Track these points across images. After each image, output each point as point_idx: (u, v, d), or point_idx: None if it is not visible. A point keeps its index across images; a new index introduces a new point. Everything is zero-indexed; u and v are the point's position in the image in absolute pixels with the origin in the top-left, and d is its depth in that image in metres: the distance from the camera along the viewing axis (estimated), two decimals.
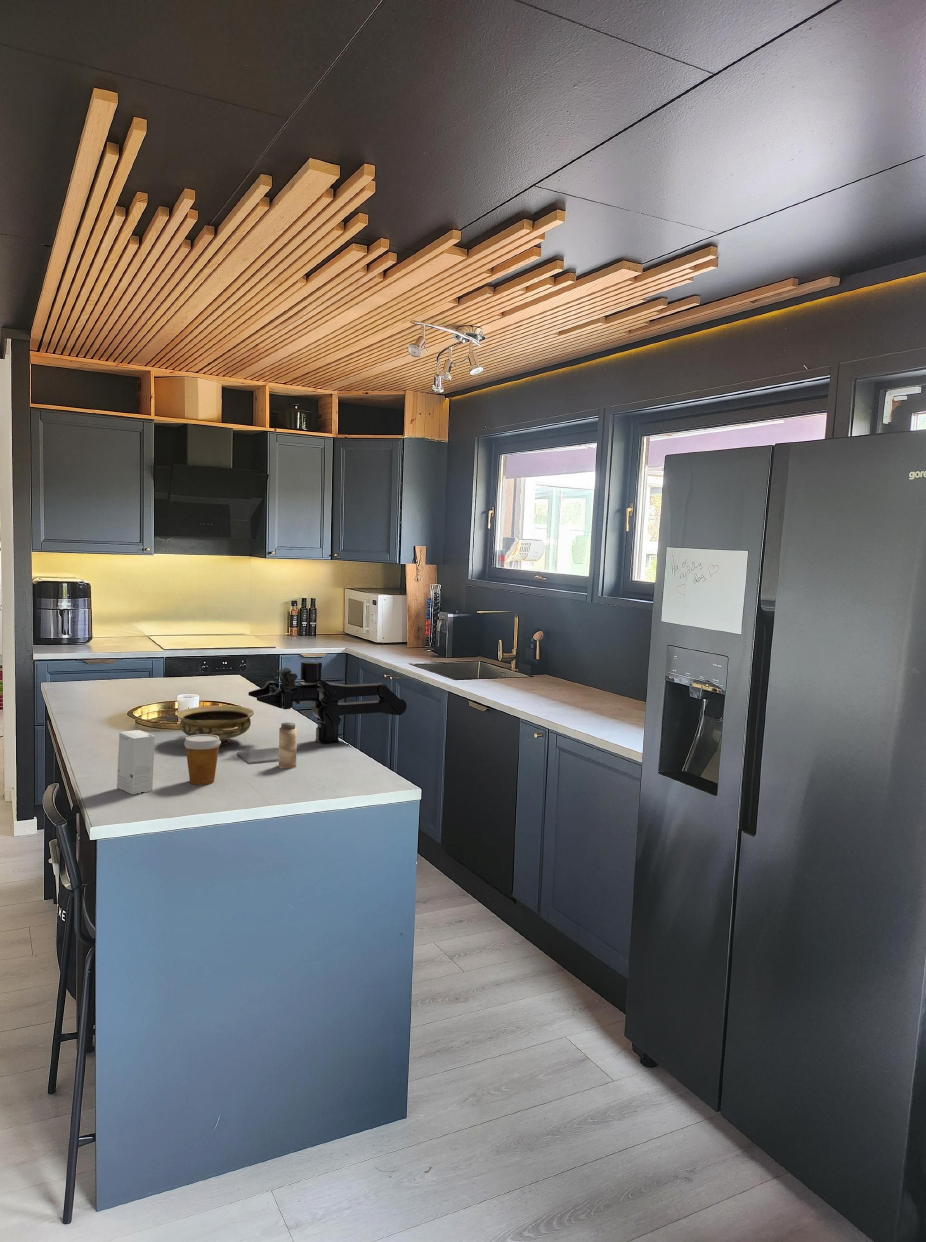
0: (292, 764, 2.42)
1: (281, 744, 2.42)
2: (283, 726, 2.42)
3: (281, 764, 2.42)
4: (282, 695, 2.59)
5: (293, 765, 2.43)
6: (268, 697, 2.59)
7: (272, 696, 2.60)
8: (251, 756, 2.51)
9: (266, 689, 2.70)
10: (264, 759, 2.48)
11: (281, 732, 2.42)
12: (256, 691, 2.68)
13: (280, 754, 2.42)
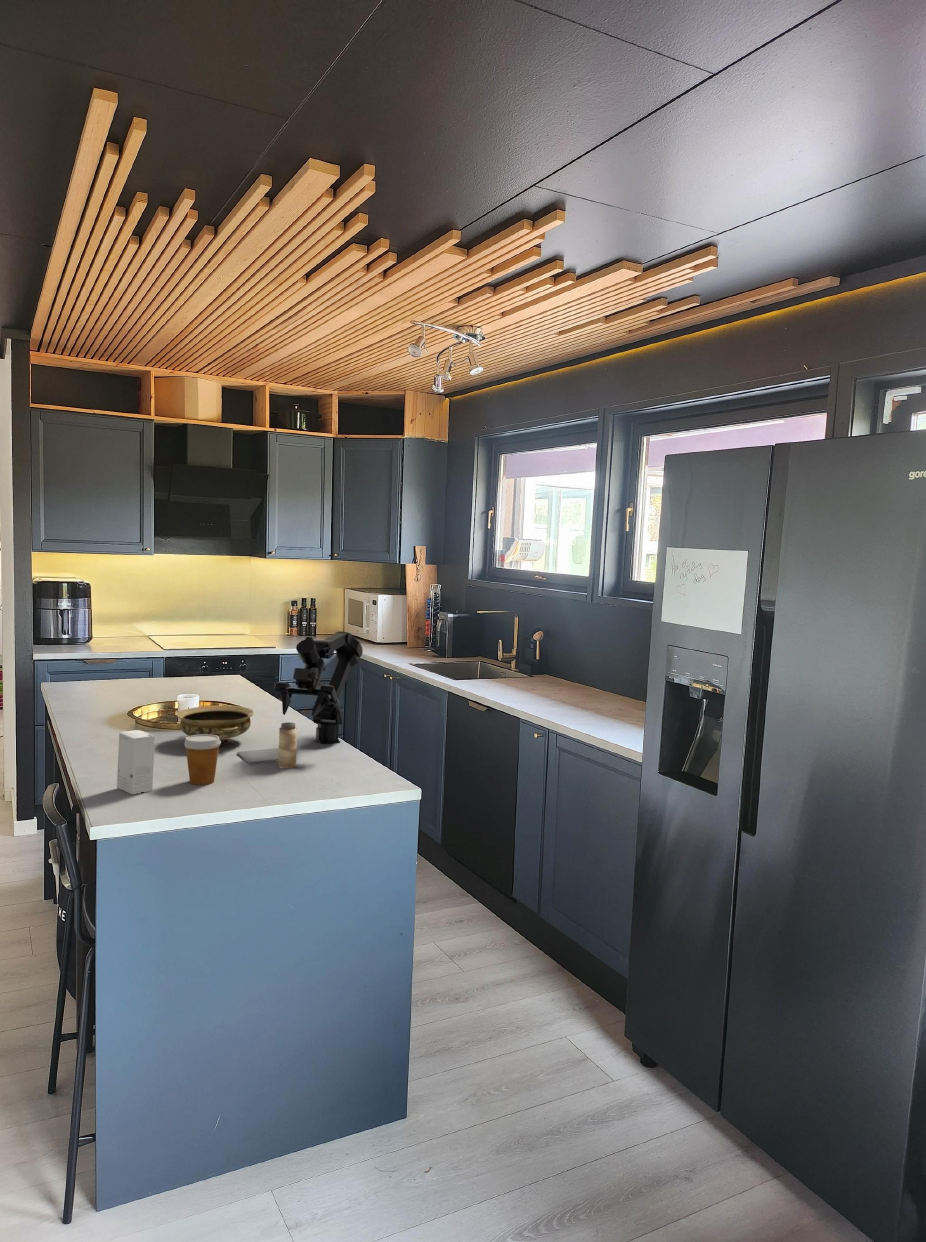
0: (292, 764, 2.42)
1: (281, 744, 2.42)
2: (283, 726, 2.42)
3: (281, 764, 2.42)
4: (328, 695, 2.53)
5: (293, 765, 2.43)
6: (318, 706, 2.52)
7: (320, 702, 2.52)
8: (251, 756, 2.51)
9: (287, 695, 2.55)
10: (264, 759, 2.48)
11: (281, 732, 2.42)
12: (285, 705, 2.53)
13: (280, 754, 2.42)
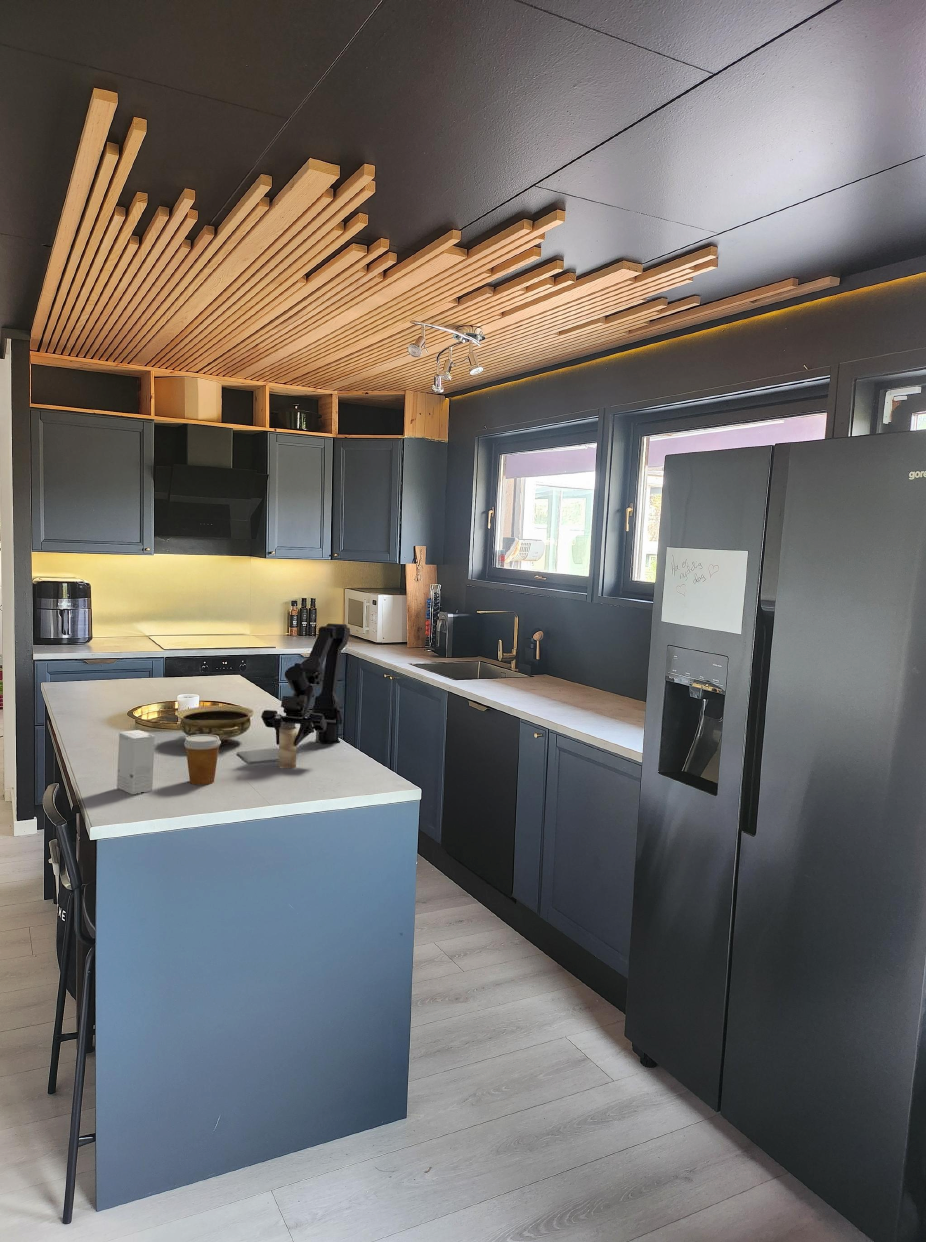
0: (292, 764, 2.42)
1: (281, 744, 2.42)
2: (283, 726, 2.42)
3: (281, 764, 2.42)
4: (311, 723, 2.45)
5: (293, 765, 2.43)
6: (301, 735, 2.44)
7: (302, 731, 2.44)
8: (251, 756, 2.51)
9: (280, 725, 2.46)
10: (264, 759, 2.48)
11: (281, 731, 2.42)
12: None
13: (280, 754, 2.42)
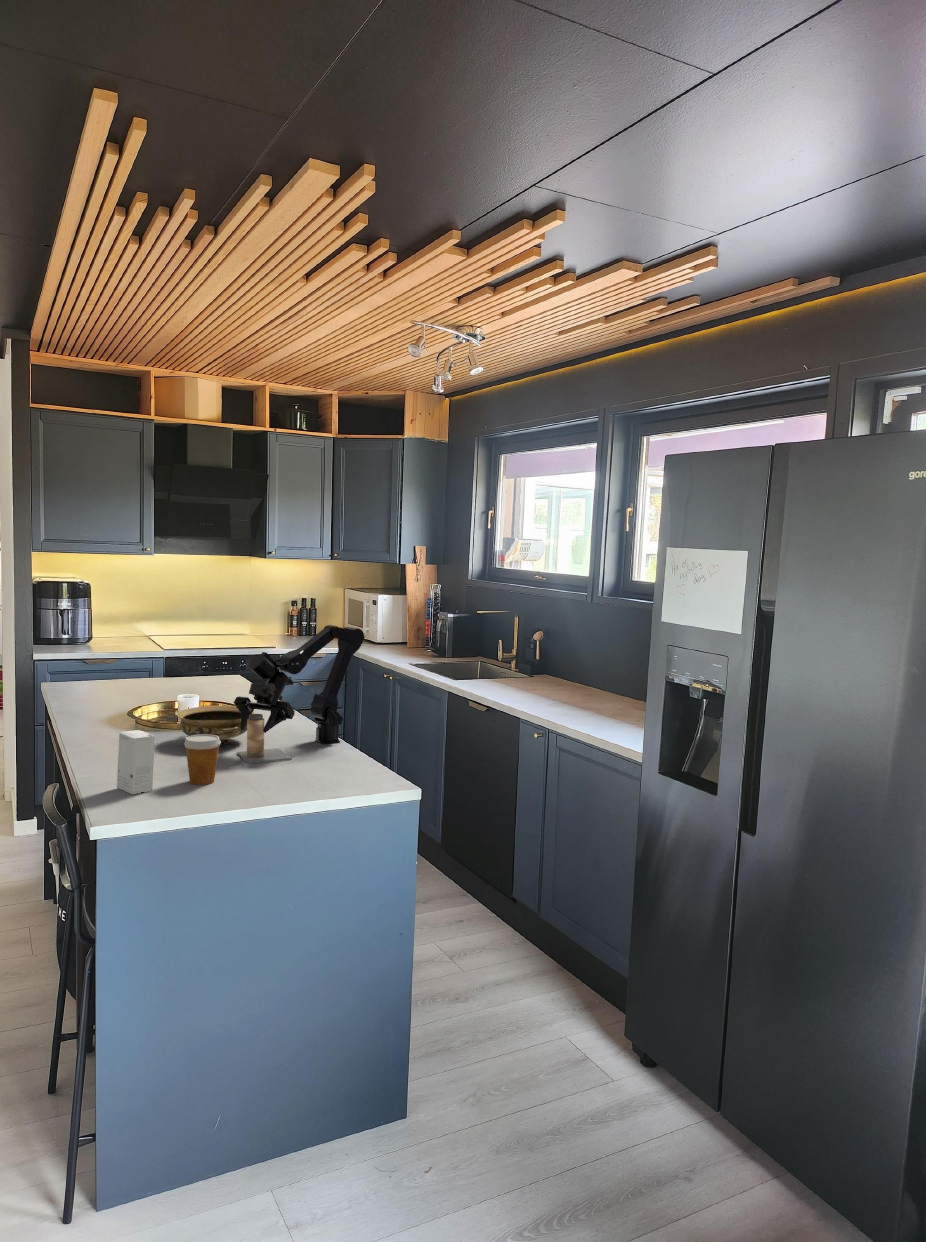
0: (258, 754, 2.50)
1: (248, 734, 2.50)
2: (250, 717, 2.50)
3: (248, 754, 2.50)
4: (281, 711, 2.51)
5: (259, 755, 2.50)
6: (271, 722, 2.50)
7: (273, 718, 2.50)
8: None
9: (247, 710, 2.54)
10: (264, 759, 2.48)
11: (247, 722, 2.50)
12: (244, 721, 2.52)
13: (247, 744, 2.50)
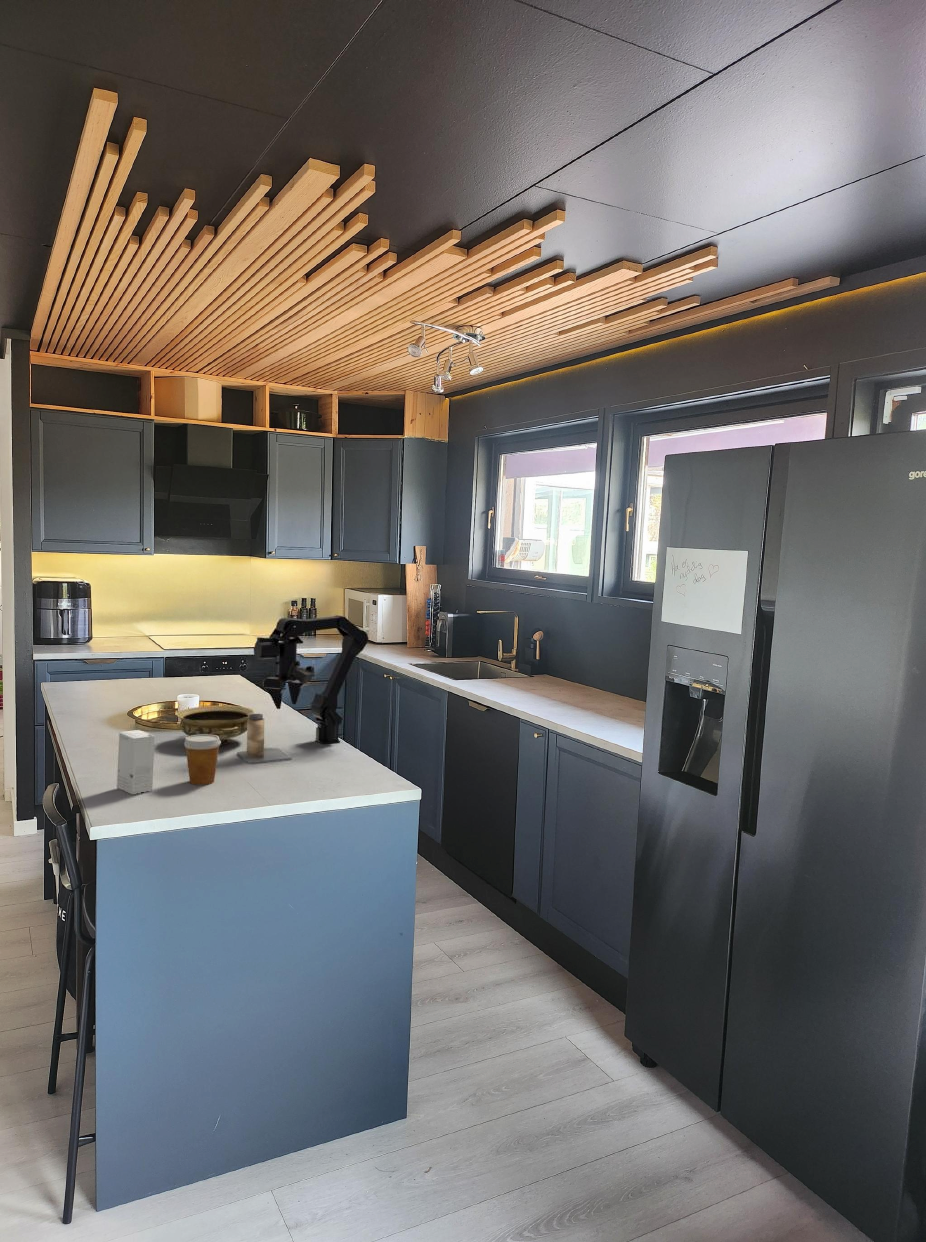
0: (258, 754, 2.50)
1: (248, 734, 2.50)
2: (250, 717, 2.50)
3: (248, 754, 2.50)
4: None
5: (259, 755, 2.50)
6: None
7: None
8: None
9: None
10: (264, 759, 2.48)
11: (248, 722, 2.50)
12: None
13: (247, 744, 2.50)
